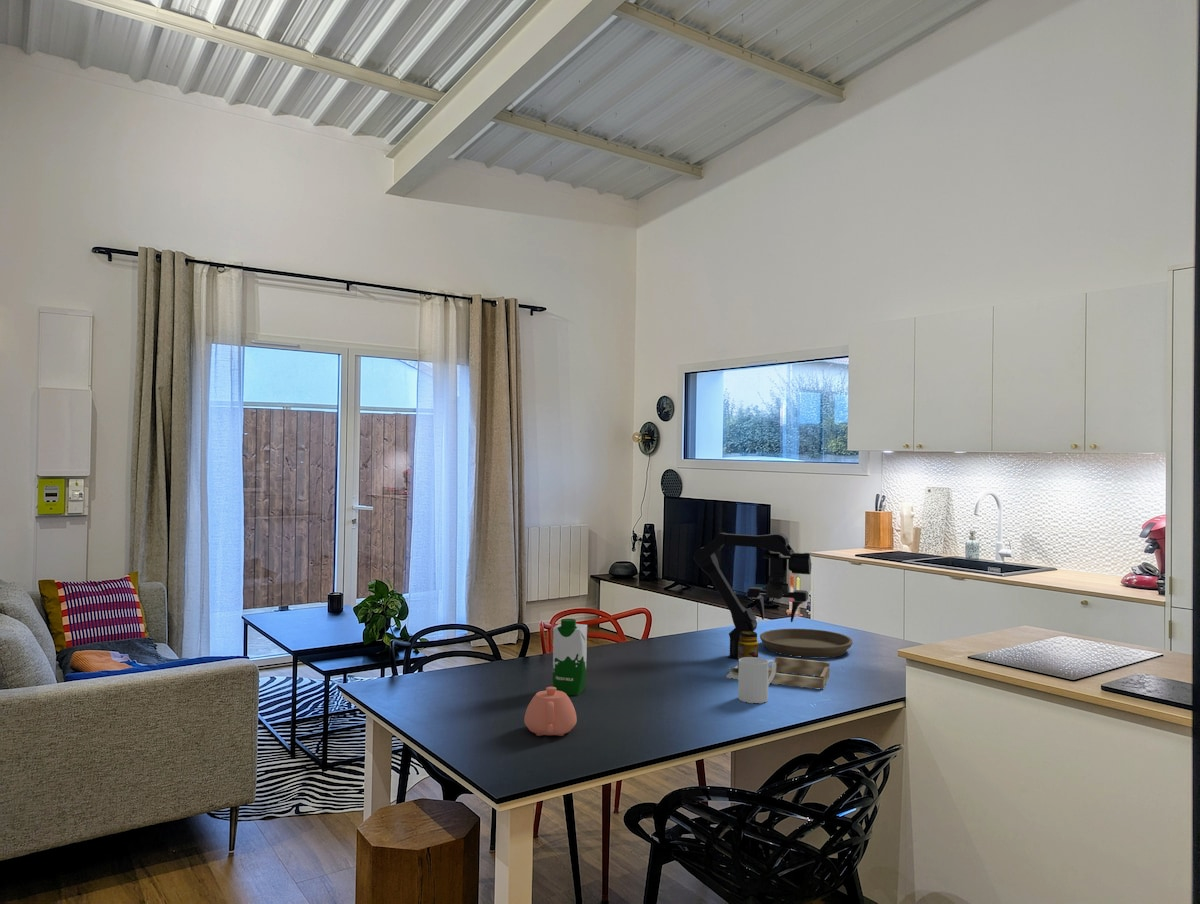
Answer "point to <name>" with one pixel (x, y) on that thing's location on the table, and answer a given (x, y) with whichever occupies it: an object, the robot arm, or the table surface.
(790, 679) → the pine frame
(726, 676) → the grey mat
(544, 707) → the sugar bowl
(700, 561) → the robot arm
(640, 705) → the table surface
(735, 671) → the condiment
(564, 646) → the milk carton
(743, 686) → the mug
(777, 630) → the plant saucer
